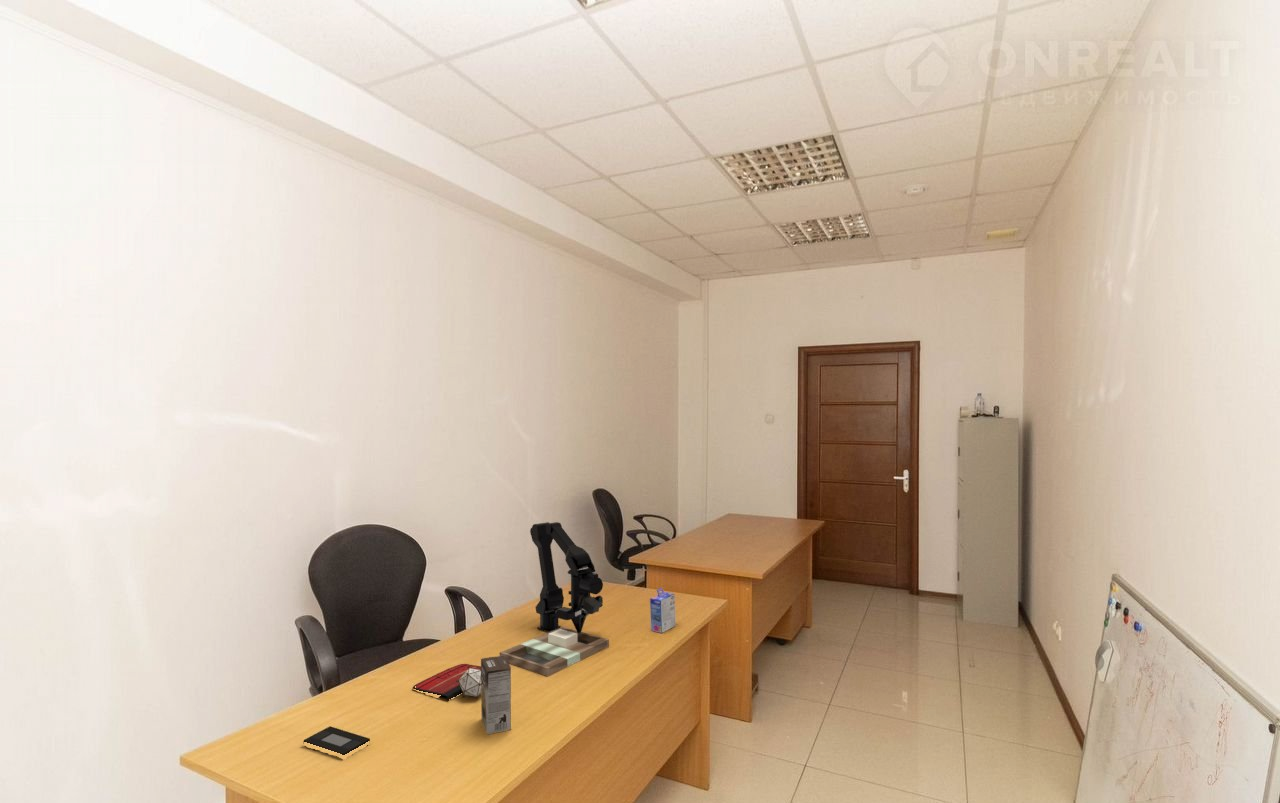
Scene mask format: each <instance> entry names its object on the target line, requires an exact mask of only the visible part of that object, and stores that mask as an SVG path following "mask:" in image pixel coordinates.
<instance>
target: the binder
mask: <svg viewBox="0 0 1280 803" xmlns="http://www.w3.org/2000/svg"><path fill="white" fill-rule="evenodd" d="M468 665H469V666H470V668H472V669H479V670H481V665H476V664H475V665H474V664H469V663H460V664H457V665H454V666H452V667H449V668H447V669H444V670H442V671H440V672H438V673H436V674H434V675H432V676H430V677H428V678H426V679H424V680H421V681H420V682H418V683H416V684H415V685H413V686H412V689H413V688H414V689H416V690H419V691H423V692H428V693H433V694H437V695H441V696H446V697H445V698H447V701H448V700H449V699H451V698H453V697H456V696H457V695H459V694H461V693H463V691H462V689H461V687H460V684H459V682H456V681H455V680H459V679H460V678H461V677H462V676H463V675H464V673H465V672H466V671H467V670H468V669H469V668H468ZM415 686H416V688H415ZM456 698H457V697H456Z"/></svg>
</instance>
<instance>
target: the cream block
mask: <svg viewBox="0 0 1280 803" xmlns="http://www.w3.org/2000/svg"><path fill="white" fill-rule="evenodd" d="M548 633H549V632H548ZM577 642H578V641H577V633H573V632H570V631H566V630H562V629H559V630H557V631H554V632H552V633H549V634H548V643H551V644H554V645H558V646H561V647H564V648H566V647H568V646H571V645H573V644H575V643H577Z"/></svg>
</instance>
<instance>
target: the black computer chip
mask: <svg viewBox="0 0 1280 803" xmlns="http://www.w3.org/2000/svg"><path fill="white" fill-rule="evenodd" d="M368 741H370V742H371V738H370V737H366V736H363V735H359V734H356V733H353V732H350V731H346V730H344V729H341V728H337V727H335V726H328V727H326V728H324V729H322V730H320V731H318V732H316V733H315V734H312V735H310V736H309V737H307V738H305V739H303V743H304V742H307V743H310V744H313V745H316V746H319V747H322V748H325V749H328V750H331V751H334V752H337V753H340V754H342V755H345V754H347V753H349V752H350V751H352V750H354V749H356V748H358V747H359V746H361V745H363V744H365V743H366V742H368Z"/></svg>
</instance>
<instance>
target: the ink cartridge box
mask: <svg viewBox="0 0 1280 803" xmlns="http://www.w3.org/2000/svg"><path fill="white" fill-rule="evenodd" d="M660 591H661V592H660ZM656 592H657V594H656V595H655V596H653V597H651V598H649V603H650V604H649V605H650V608H649V609H650V628H651V629H650V630H651V631H652V632H656V633H660V634H663V633H665V632H667V631H668V630H670V629H672V628H674V627H676V624H677V623H676V622H677V621H676V593H671V592H666V591H664V589H663V588H662V587H661V588H658V589H656Z"/></svg>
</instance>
